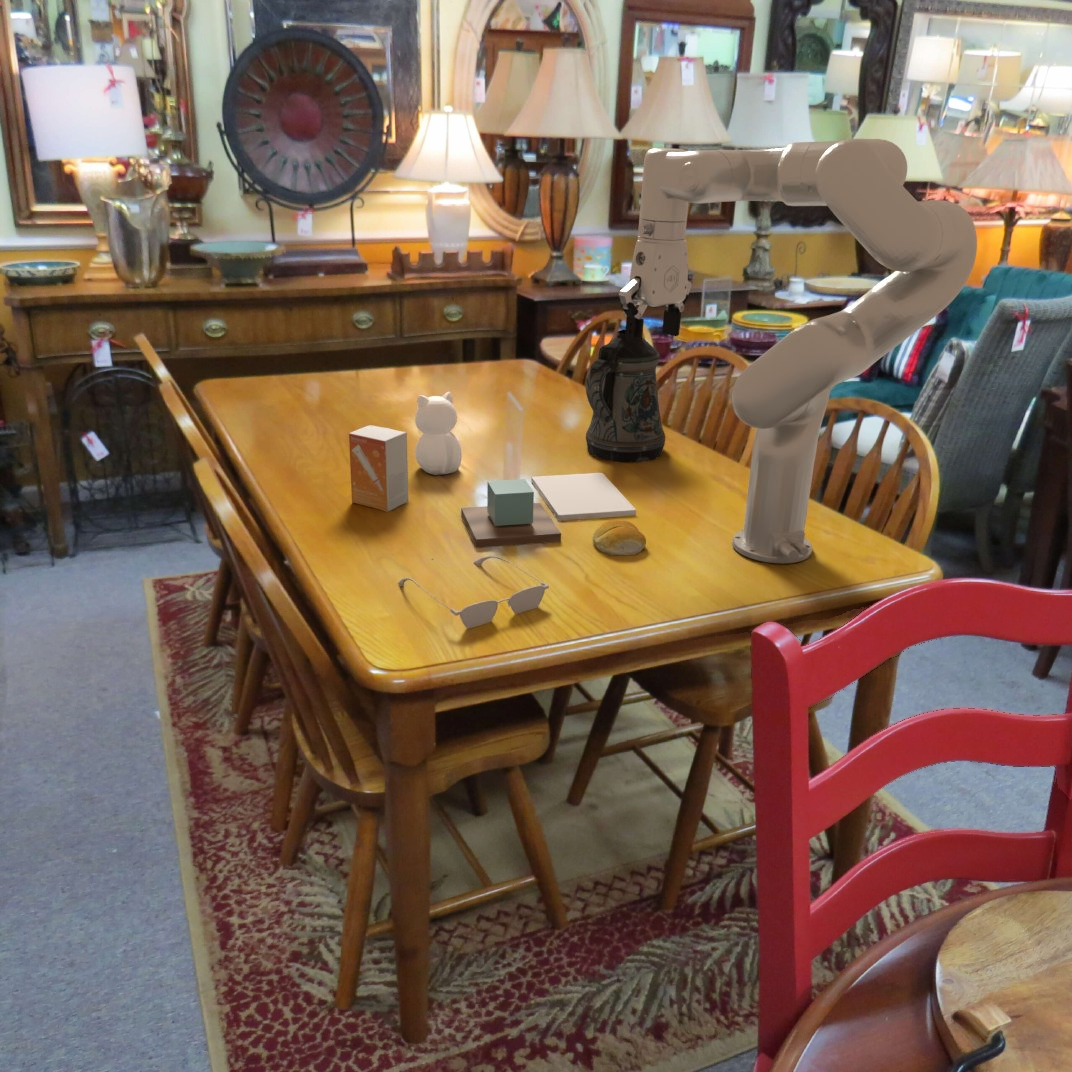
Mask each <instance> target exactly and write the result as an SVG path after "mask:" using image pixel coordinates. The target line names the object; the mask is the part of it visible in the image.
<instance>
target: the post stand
mask: <svg viewBox="0 0 1072 1072" xmlns="http://www.w3.org/2000/svg"><path fill="white" fill-rule="evenodd" d="M460 512H461V513H460V515H461V518H462V520H463V523H464V525H465V527H466V528H467V532H468V534H469V536H470V538H471V540H472V543H473V544H474V546H475V548H476V549H481V548H494V547H509V546H511V547H512V546H523V545H535V544H549V543H551V544H552V543H560V542H562V532H561V530H560V529H559V528H558V527H557V525H556V523H555V522H554V521H553V519H552V518H551V516H550V515H549V514H548V512H547V510H546V509H545V507H544V506H543V505H542V503H541V502H534V505H533V523H531V524H516V525H502V526H495V525H494V523H493V521H492V520H491V518H490V516H489V514H488V512H487V506H484V505H483V506H471V507H461V511H460Z"/></svg>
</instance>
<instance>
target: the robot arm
mask: <svg viewBox="0 0 1072 1072" xmlns="http://www.w3.org/2000/svg"><path fill="white" fill-rule="evenodd" d="M643 160H644V161H643V170H642V171H643V173H642V181H641V182H642V183H641V195H640V208H639V220H638V229H637V240H636V243H635V246H634V250H633V256H632V261H631V267H630V275H629V283H628V284H626V285H625V286H624V287H623V288H622V289H621V290H619V292H618V295H619V300H620V303H621V306H620V307H621V309H622V311H623V314H624V317H626V319H625V320H626V321H625V329H624V330H625V340H626V341H630V342H634V343H641V342H642V337H643V334H644V333H643V332H644V320H645V319H644V318H642V317H643V315H644V313H645V311H646V309H647V308H648V306H649V307H652V308H654V307H655V308H656V307H662V306H665V307H666V308H667V309H666V308H665V309H664V311H663V321H662V330H661V331H662V333H663V334H664V335H668V336H673V337H678V336H679V335H680V328H681V318H682V312H684V310H685V304H686V303H687V300H688V299H689V294H690V292H691V289H692V286H693V284H692V282H691V281H690V280H688V277H689V275H688V274H689V250H688V240H686V235H687V234H686V233H687V232H686V231H687V223H688V213H689V203H691V204H710V203H711V204H712V203H722V202H723V203H724V202H725V203H726V202H727V203H728V202H748V201H750V202H751V201H752V202H754V201H755V202H757V201H762V202H763V201H766V202H768V201H769V202H770V201H771V202H772V201H773V202H783V204H785V205H786V206H791V207H820V206H821V207H828V208H829V210H830V211H831V212H832V213H833V215H834V216H835V217H836V218H837V219H838V221H839V222H840V223H841V224H843V226H844V227H845V228H846V230H848V231H849V233H850V234H851V235H852V237H854V238H855V239H856V241H857V242H859V244H860V245H861V246H862V247H863V248H864V249H865V250H866V252H867V253H868V254H869V255H870V256H871V257H872V258H873V259H874V260H875V261H876V262H878V263H879V264H880V265H882V267H883V266H884V268H886V269H889V270H892V271H893V272H892V273H891V274H889V275H888V276H886V277H885V278H883V279H882V280H880V281H879V282H878V283H877V284H875V285H874V286H873V287H871V288H870V289H869V290H868V291H867V292H865V294H864V295H862V296H861V297H859V298H858V299H857V300H855V301H854V302H852V303H851V304H849V305H848V306H847V307H845V308H844V309H842V310H841V311H837V312H834V313H832V314H829V315H824V316H820V317H818V318H813V319H811V320H808V321H806V322H804V323H802V324H801V325H799V326H798V327H796V328H795V329H793V330H792V331H790V332H788V334H786V335H784V336H783V338H781V339H780V340H779V341H778V342H776V343H775V344H774V345H772V347H770V348H769V349H768V350H766V351H765V352H764V353H763V354H762V355H760V356H759V357H758V358H756V359H755V360H754V361H753V362H752V363H750V364H749V365H748V366H747V367H745V369H743V370H742V371H741V372H740V374H739V375H738V376H737V378H736V379H735V382H734V384H733V386H732V390H731V406H732V409H733V411H734V413H735V416H736V417H737V418H738V419H739V420H740V421H741V422H742V423H743V424H745V425H747V426H749V427H751V428H755V429H756V430H755V435H754V440H753V446H752V447H753V448H752V454H751V462H750V470H749V480H748V487H747V488H748V489H747V497H746V505H745V506H746V507H745V515H744V523H743V529H742V530H739V531H738V532H736V533H735V534H734V535H733V537H732V542H731V543H732V547H733V549H734V550H735V551H736V552H738V553H739V554H741V555H743V556H744V557H747V558H749V559H752V560H755V561H758V562H764V563H770V564H795V563H798V562H802V561H805V560H807V559H808V558H810V556H811V555H812V552H813V545H812V543H811V542H810V541H809V540H808V539H807V538H806V533H805V529H806V522H807V516H808V515H807V514H808V507H809V502H810V496H811V489H812V479H813V472H814V466H815V461H816V455H817V450H818V442H819V436H820V433H821V432H820V431H821V427H822V424H823V420H824V416H825V413H826V410H827V406H828V402H829V399H830V391H831V388H832V387H834V386H835V385H838V384H840V383H843V382H846V381H848V380H850V379H851V380H852V379H853V378H856V377H858V376H860V375H861V374H863V373H864V372H865V371H867V370H868V369H869V368H870V367H872V366H873V365H874V364H875V363H876V362H878V361H879V360H880V359H881V358H882V357H884V356H885V355H887V354H888V353H890V352H891V351H892V350H894V349H895V348H896V347H898V346H899V345H900V344H901V343H903V342H904V341H906V340H907V339H908V338H909V337H911V336H912V335H913V334H915V332H917V331H918V330H920V329H921V328H922V327H924V326H925V325H926V324H927V323H929V322H930V321H932V320H933V319H934V318H936V316H938V315H939V314H940V313H941V312H942V311H944V310H945V309H946V308H947V307H948V306H949V305H950V304H951V303H952V302H953V301H954V300H955V299H956V297H957V296H958V295H959V294H960V293H961V291H962V289H963V288H964V286H965V285H966V283H967V282H968V280H969V278H970V276H971V273H972V271H973V269H974V266H975V261H976V259H977V250H978V236H977V230H976V225H975V223H974V220H973V219H972V217H971V215H970V214H969V213H968V211H967V209H965V208H963V207H962V206H961V205H959V204H957V203H955V202H952V201H949V200H942V199H941V200H940V199H930V200H920V201H918V200H917V199H916V198H915V197H913V195H912V194H911V193H910V192H909V191H908V190H907V189H906V188H905V186H904V185H905V182H906V179H907V177H908V175H907V174H908V161H907V158H906V155H905V154H904V152H903V150H902V149H901V148H900V147H899V146H898V145H897V144H895V143H893V142H892V141H890V140H886V139H880V138H850V139H845V140H844V139H843V140H827V141H826V140H825V141H823V140H822V141H801V142H798V141H795V142H792V143H789V144H788V145H786V146H785V147H779V148H765V149H709V150H708V149H702V150H701V149H700V150H698V149H697V150H687V149H682V148H668V147H654V148H651V149H649V150H647V152H646V153H645V156H644V159H643ZM637 306H638V307H637Z"/></svg>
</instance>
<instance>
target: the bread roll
mask: <svg viewBox="0 0 1072 1072" xmlns="http://www.w3.org/2000/svg"><path fill="white" fill-rule="evenodd" d="M592 543H593V544H594V546H596V547H597V549H598V550H599V551H601V552H603V553H604V554H608V555H612V556H632V555H637V554H639V553H640V552H641V551H642V550H643V549H644V548H645V547H646V545H647V540H646V536H645V535H644V534H643V533H642V532H641V531H640V529H638V527H637V526H636V525H635V524H633V523H632V522H631V521H628V520H624V519H611V520H610V519H609V520H607V521H604V522H603V523H601V524H600V525H598V526H597V527H596V529H595V530H594V532H593V535H592Z"/></svg>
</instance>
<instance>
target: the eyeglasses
mask: <svg viewBox="0 0 1072 1072" xmlns="http://www.w3.org/2000/svg"><path fill="white" fill-rule="evenodd" d="M491 558H492V559H499V560H502V561H504V562H506V563H507V564H510V565H512V566H514V568H515V567H516V568H517V569H518V570H521V571H522V572H524V573H525V574H527V576H530V577H531V578H532V579H534V580H535V581H537V582H538V583H540V584H541V585H535V586H534V585H533V586H530V587H527V588H524V589H521V590H519V591H516V592H515V593H513V594H512V595H511V596H510V597H507V598H502V599H499V600H495V599H490V600H483V601H479V602H476V603H472V604H469V605H467V606H465V607H463V608H462V609H460V610H455V609H454V608H453V607H452V608H450V607H448V606H447V605H446V604H444V603H443V602H441V601H440V600H439V599H438V598H436V597H434V596H433V595H432V594H430V593H429V592H428V591H427V590H426V589H424V588H423V587H422V586H421V585H420V584H419V583H418V582H417V581H416V580H414V579H413V578H410V577H404V578H402V579H400V580H399V581H398V583H397V584H398V585H399V586H400V587H404V586H405V582H407V581H409V580H410V582H411V581H412V582H413V583H414V584H415V585H416V586H417V587H418V588H420V589H421V590H423V591H424V592H425V593H426V594H428V595H429V596H430V597H431V598H433V599H434V600H435V601H436V602H438V603H440V604H442V605H443V606H444V607H445V608H446V609H449V610H450V613H452V614H453V615H454V616H456V617H457V616H459V617H460V619H461V622H462V624H463V625H464V627H465V628H466V629H467V630H469V629H471V628H475V627H478V626H481V625H485V624H488V623H492V621H493V620H494V617H495V615H496V612H497V610H498V606H499V605H498V604H499V603H502V602H504V601H507V605H508V608H511V610H512V612H513V614H515V615H517V614H521V613H525V612H528V611H531V610H534V609H536V608H538V607H540V605H541V602H542V599H543V598H544V594H545V590H549V587H550V586H549V585H548V584H547V583H546V582H544V581H540V580H538V579H537V578H535V576H533V575H531V574H529V573H528V572H527V571H525V570H524V569H522V568H520V567H519V566H517V565H514V563H512V562H510V561H509V560H507V559H505V558H502V557H500V556H496V555H489V556H484V557H480V558H478V559H477V560H475V561H473V564H474V565H476V566H482V564H483V563H484V561H486V560H488V559H491Z"/></svg>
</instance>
